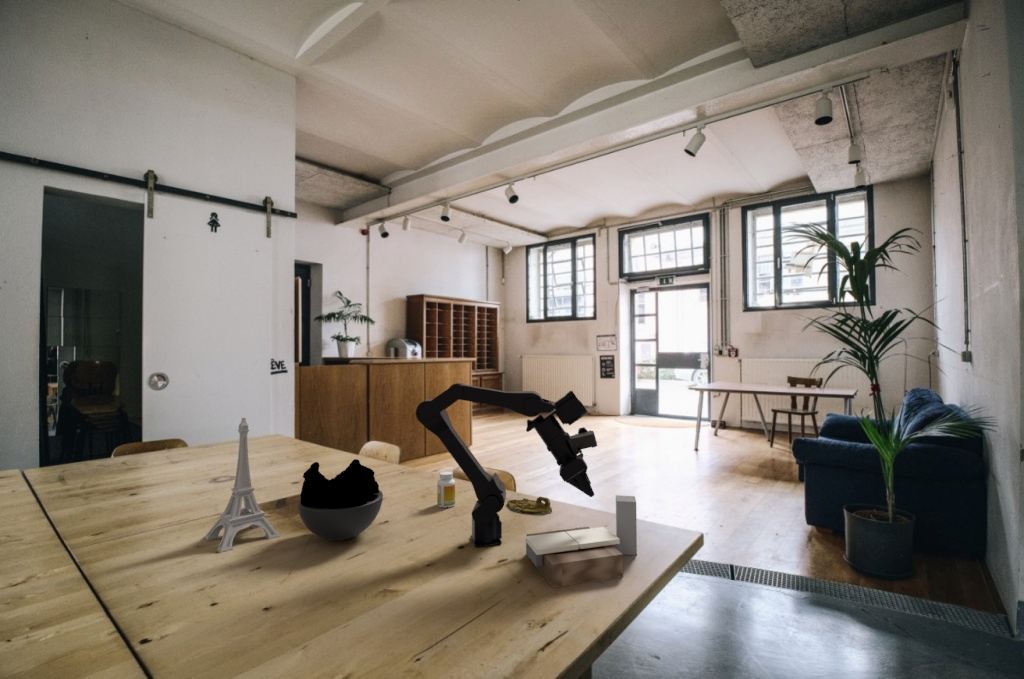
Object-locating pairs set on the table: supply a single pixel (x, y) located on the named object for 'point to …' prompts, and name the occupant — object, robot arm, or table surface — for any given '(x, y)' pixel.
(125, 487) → the table surface
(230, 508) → the eiffel tower
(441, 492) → the supplement bottle
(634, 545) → the grey stone block
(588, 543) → the panel
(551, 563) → the box
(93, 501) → the table surface
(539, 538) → the near trapdoor leaf
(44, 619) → the table surface
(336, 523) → the coal bowl
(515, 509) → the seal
